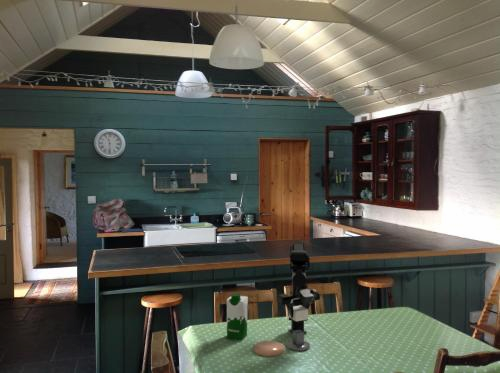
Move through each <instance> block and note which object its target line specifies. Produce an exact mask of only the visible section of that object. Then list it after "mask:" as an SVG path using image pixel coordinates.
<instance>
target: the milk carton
mask: <svg viewBox="0 0 500 373" xmlns="http://www.w3.org/2000/svg"><path fill="white" fill-rule="evenodd" d="M248 299H249V296H245V295H241V294H240V293H232V294H231V296H229V297H228V298H227V299H226V300H225V301H226V339H227V340H233V341H237V342H242V341H243V340H244V339H246V337H247V336H248V304H249V302H248V301H249V300H248Z"/></svg>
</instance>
